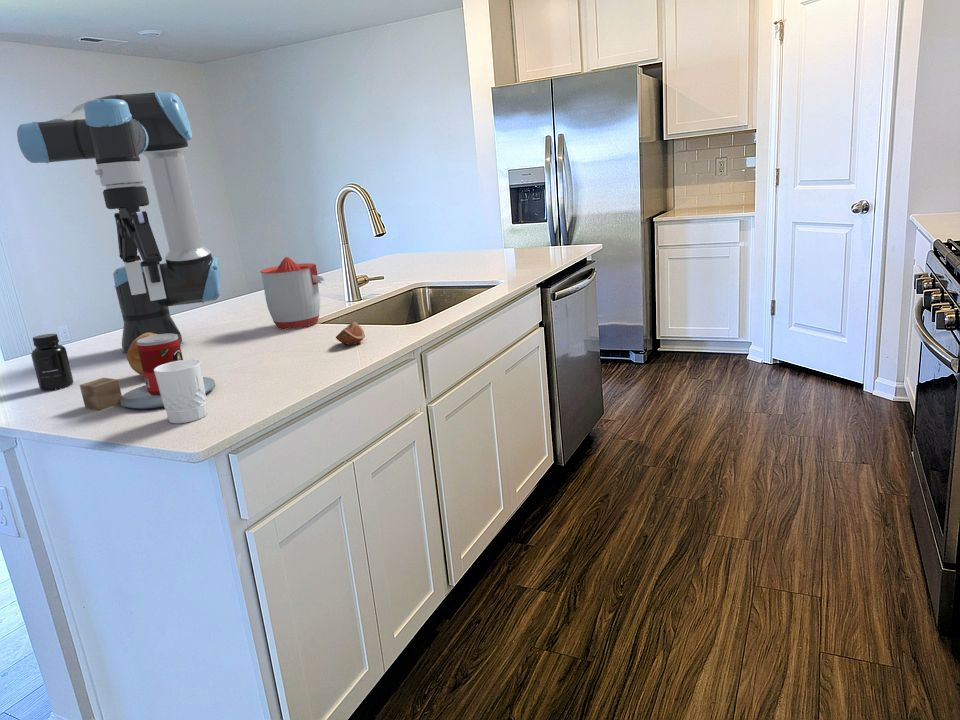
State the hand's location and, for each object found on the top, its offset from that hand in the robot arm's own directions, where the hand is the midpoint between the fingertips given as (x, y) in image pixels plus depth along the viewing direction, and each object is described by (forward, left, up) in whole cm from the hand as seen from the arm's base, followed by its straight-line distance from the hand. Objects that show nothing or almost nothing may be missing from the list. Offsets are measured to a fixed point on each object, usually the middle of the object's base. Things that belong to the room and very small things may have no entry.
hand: (148, 296), depth 137 cm
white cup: (+18, -2, -21) cm, 28 cm away
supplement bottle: (-33, -15, -21) cm, 42 cm away
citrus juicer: (-39, +49, -21) cm, 66 cm away
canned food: (0, 0, -20) cm, 20 cm away
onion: (-21, +3, -21) cm, 30 cm away
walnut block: (-6, -11, -21) cm, 24 cm away
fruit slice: (-4, +45, -21) cm, 50 cm away
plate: (0, 0, -21) cm, 21 cm away
